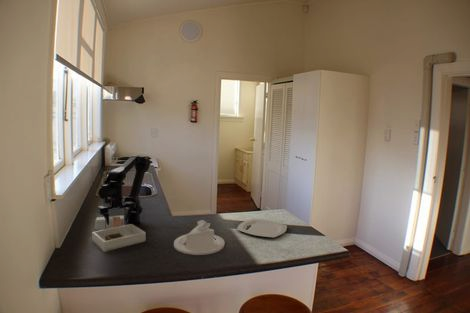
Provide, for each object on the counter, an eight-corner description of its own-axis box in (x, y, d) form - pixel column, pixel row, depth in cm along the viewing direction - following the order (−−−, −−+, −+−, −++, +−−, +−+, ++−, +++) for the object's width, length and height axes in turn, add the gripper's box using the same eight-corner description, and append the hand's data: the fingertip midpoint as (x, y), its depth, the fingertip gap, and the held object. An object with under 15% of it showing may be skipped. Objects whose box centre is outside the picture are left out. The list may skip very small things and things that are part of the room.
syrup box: (95, 230, 160) (124, 228, 165) (95, 220, 159) (124, 218, 164) (96, 227, 165) (124, 225, 170) (96, 216, 165) (124, 215, 170)
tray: (131, 231, 160) (131, 223, 160) (145, 241, 149) (145, 232, 148) (92, 240, 147) (92, 232, 146) (104, 251, 135) (104, 242, 135)
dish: (197, 231, 165) (197, 211, 164) (234, 243, 151) (235, 221, 150) (163, 245, 145) (163, 223, 144) (201, 260, 131) (202, 235, 130)
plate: (230, 232, 166) (230, 229, 165) (250, 219, 189) (250, 216, 189) (276, 243, 153) (276, 239, 153) (292, 228, 177) (292, 224, 177)
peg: (118, 230, 162) (118, 215, 162) (121, 231, 160) (121, 217, 159) (112, 231, 160) (111, 216, 159) (114, 233, 157) (114, 218, 156)
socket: (119, 236, 151) (119, 232, 151) (125, 240, 146) (125, 236, 146) (105, 239, 146) (105, 235, 146) (110, 244, 141) (110, 240, 141)
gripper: (127, 189, 170) (127, 216, 172) (92, 193, 157) (93, 222, 159) (136, 193, 162) (136, 221, 164) (100, 198, 149) (100, 228, 151)
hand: (116, 223), depth 160 cm, fingers open, 9 cm apart
